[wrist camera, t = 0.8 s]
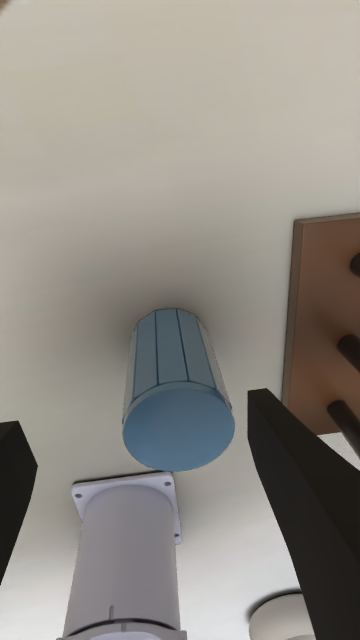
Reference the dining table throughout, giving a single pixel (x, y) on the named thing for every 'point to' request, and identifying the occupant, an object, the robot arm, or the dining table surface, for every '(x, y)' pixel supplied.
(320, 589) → the robot arm
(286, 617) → the donut
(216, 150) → the dining table surface
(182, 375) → the cup
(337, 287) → the rack
